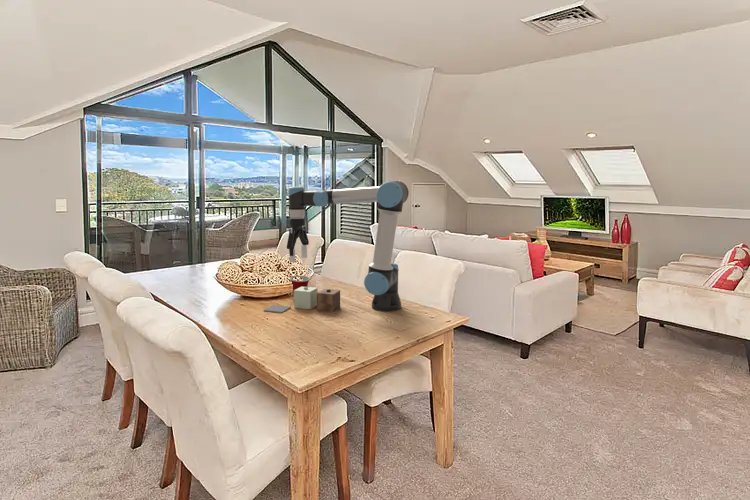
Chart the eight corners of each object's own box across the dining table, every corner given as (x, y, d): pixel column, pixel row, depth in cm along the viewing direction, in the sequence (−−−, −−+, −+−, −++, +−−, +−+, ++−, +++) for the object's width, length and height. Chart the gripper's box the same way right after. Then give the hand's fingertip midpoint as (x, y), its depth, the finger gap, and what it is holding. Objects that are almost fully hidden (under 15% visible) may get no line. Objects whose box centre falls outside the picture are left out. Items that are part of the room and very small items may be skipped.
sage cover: (317, 304, 248) (317, 285, 247) (310, 309, 240) (310, 289, 238) (301, 303, 251) (301, 284, 249) (294, 307, 242) (293, 288, 241)
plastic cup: (296, 302, 252) (296, 280, 250) (286, 298, 260) (286, 277, 258) (314, 299, 258) (313, 277, 257) (304, 295, 267) (303, 274, 265)
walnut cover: (340, 307, 244) (340, 288, 242) (333, 312, 235) (333, 292, 234) (324, 305, 246) (323, 286, 245) (316, 310, 238) (316, 290, 236)
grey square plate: (291, 307, 242) (291, 306, 242) (281, 313, 233) (281, 311, 233) (273, 305, 245) (273, 304, 245) (263, 311, 236) (263, 310, 236)
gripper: (301, 215, 250) (302, 255, 253) (278, 220, 226) (280, 263, 230) (314, 215, 248) (315, 256, 251) (292, 220, 224) (294, 264, 228)
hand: (298, 259), depth 240 cm, fingers open, 13 cm apart
